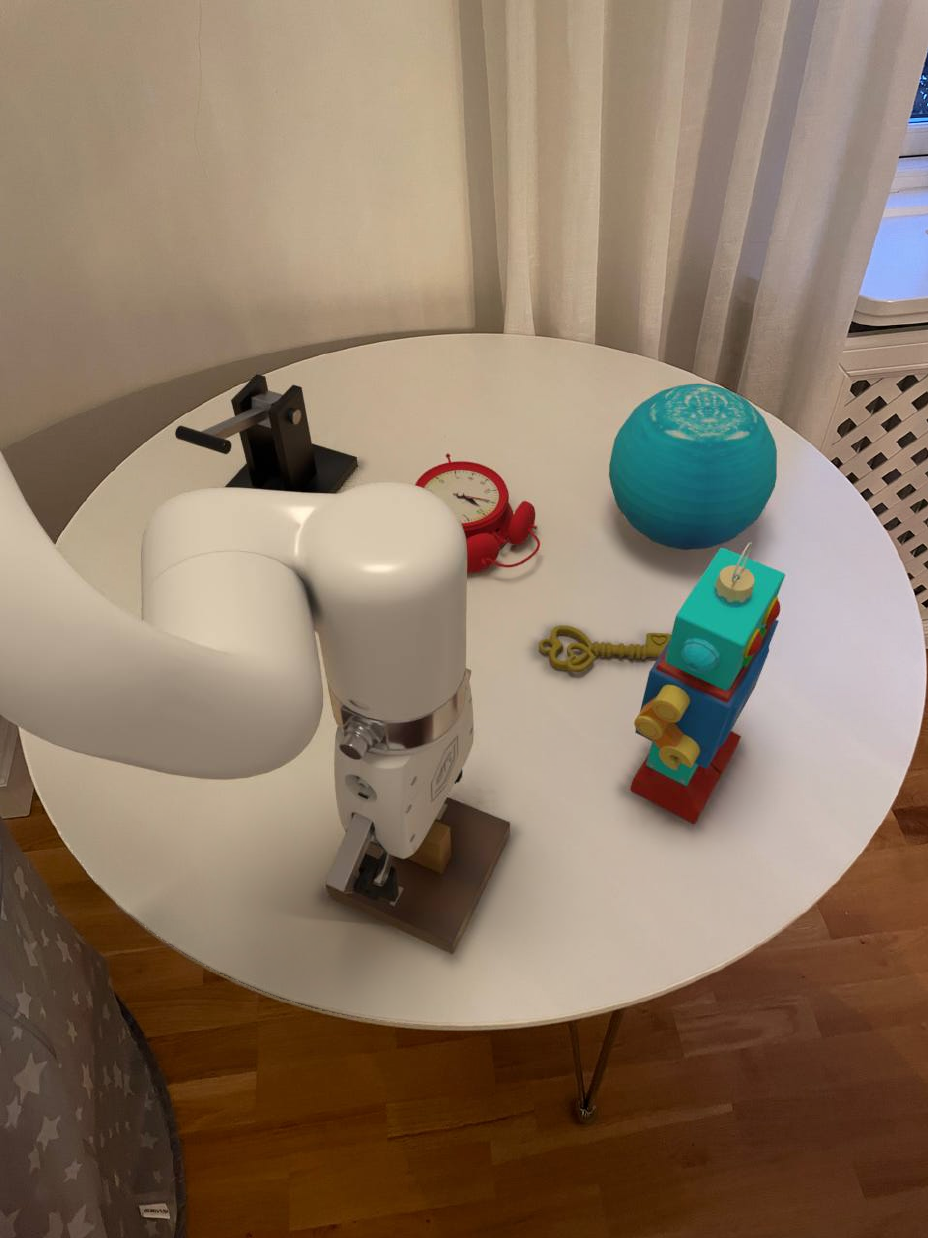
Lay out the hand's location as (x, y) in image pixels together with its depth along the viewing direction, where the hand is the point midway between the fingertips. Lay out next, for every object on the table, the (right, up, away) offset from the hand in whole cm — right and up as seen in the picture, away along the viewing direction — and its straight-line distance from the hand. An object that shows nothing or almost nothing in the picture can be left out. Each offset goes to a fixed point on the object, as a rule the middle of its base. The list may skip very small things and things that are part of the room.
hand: (409, 828), depth 64 cm
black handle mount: (-14, +28, +31) cm, 44 cm away
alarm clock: (+5, +23, +27) cm, 36 cm away
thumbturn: (+1, -2, +3) cm, 4 cm away
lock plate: (+1, -4, +5) cm, 6 cm away
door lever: (-17, +31, +20) cm, 41 cm away
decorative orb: (+25, +23, +27) cm, 43 cm away
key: (+16, +11, +17) cm, 26 cm away
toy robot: (+21, +3, +10) cm, 23 cm away
